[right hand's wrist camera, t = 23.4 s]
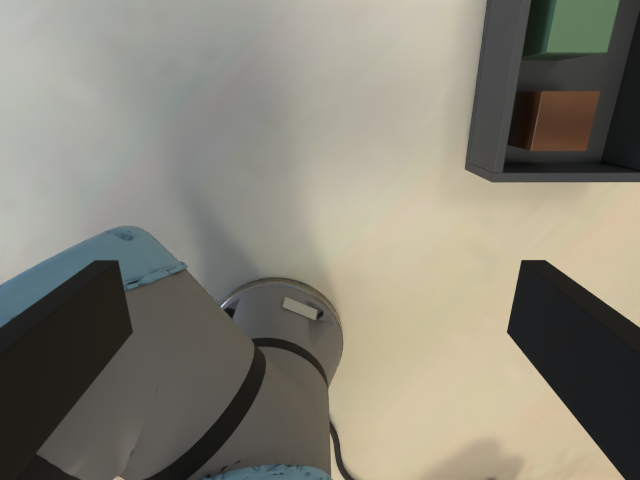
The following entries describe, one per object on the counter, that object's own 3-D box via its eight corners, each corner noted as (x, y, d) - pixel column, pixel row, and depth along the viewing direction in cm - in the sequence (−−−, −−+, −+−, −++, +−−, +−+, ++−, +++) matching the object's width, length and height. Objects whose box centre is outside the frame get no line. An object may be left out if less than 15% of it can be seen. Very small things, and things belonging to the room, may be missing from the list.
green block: (559, 60, 34) (607, 52, 28) (508, 60, 34) (546, 52, 28) (570, 2, 32) (624, -19, 26) (518, 1, 32) (560, -19, 26)
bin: (707, 169, 38) (779, 181, 32) (464, 169, 38) (491, 182, 32) (777, -28, 32) (881, -57, 26) (490, -27, 32) (529, -56, 26)
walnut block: (544, 143, 36) (586, 151, 30) (497, 143, 36) (530, 151, 30) (555, 92, 34) (601, 91, 29) (506, 92, 34) (542, 90, 29)
